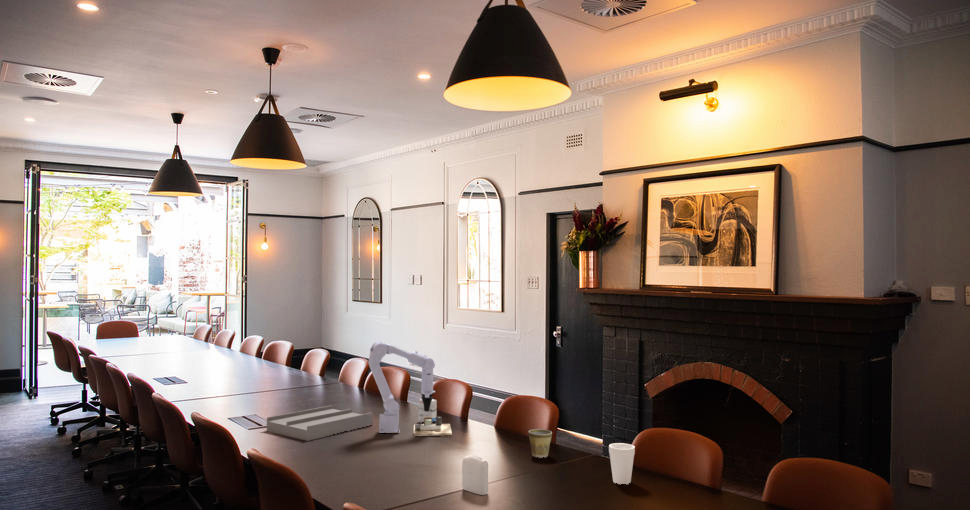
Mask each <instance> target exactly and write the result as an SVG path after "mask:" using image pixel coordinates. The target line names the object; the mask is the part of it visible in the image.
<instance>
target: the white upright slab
mask: <svg viewBox="0 0 970 510" xmlns="http://www.w3.org/2000/svg"><path fill="white" fill-rule="evenodd" d="M461 471H462V473H461V475H462V476H461V477H462V479H461V483H462V484H461V486H462V490H464V491H467V492H470V493H472V494H476V495H480V496H486V495H487V494H488V493H489V462H488V461H487V460H486V459H485V458H483V457H481V456H479V455H475V454H470V455H466V456H464V457H463V459H462V469H461Z"/></svg>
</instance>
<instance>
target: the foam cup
mask: <svg viewBox="0 0 970 510" xmlns="http://www.w3.org/2000/svg"><path fill="white" fill-rule="evenodd" d="M635 447H636V446H635V445H633V444H629V443H622V442H618V443H617V442H615V443H610V444H609V445H608V453H609V459H610V460H609V461H610V467H611V473H612V476H611V477H612V481H613V483H614V484H616V483H617V484H618V485H621V484H626V485H629V483H630V484H631V481H632V473H633V465H634V460H635V459H634V458H635V454H636V453H635V452H636V450H635ZM617 484H616V485H617Z"/></svg>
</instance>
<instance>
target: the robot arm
mask: <svg viewBox="0 0 970 510" xmlns="http://www.w3.org/2000/svg"><path fill="white" fill-rule="evenodd" d="M391 354H394V355H396V356H399V357H402V358H404V359H407V363H410V364H411V365H412V364H413V365H415V366H417V367H419V368H420V367H421V387H420V388H421V390H420V393H421V397H420V399H422V401H423V404H424V411H429V409H430V404H431V401H432V399H433V400H434V397H433V395H434V394H435V393H436V390H434V368H435V367H436V363H435V361H434V360H433V359H432V358H430V357H429V356H427V355H424V354H420V353H419V352H418V351H416V350H415V351H414V350H413V351H410V352H408V351H406V350H404V349H402V348H400V347H397V346H395V345H393V344H389V343H383V342H382V341H376V342H374V343H373V344H372V345H371V348H370V349H369V356H368V362H367V363H368V366H369V368H370V371H371V374H372V376H373V379H374V380H375V383H376V385H377V388H378V390H379V393H380V395H381V399H382V402H383V405H382V407H383V409H384V410H383V413H380V414H379V416H378V417H379V418H378V419H379V421H378V434H379V433H384V432H386V433H391V432H397V431H398V429H399V427H400V426H399V420H400V419H399V418H400V415H399V413H400V412H399V411H400V404H399V403H398V402H397V401H396V400H395V397H394V395H393V394H392V392H391V389H390V387H389V384H388V382H387V380H386V377H385V375H384V373H383V370H382V368H381V364H380V363H381V362H382V359H383V358H384V357H385V356H386V355H391Z"/></svg>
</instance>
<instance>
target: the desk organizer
mask: <svg viewBox="0 0 970 510" xmlns="http://www.w3.org/2000/svg"><path fill="white" fill-rule="evenodd" d="M371 424H372V425H373V412H367V413H363V414H362V413H356V412H353V408H348V409H343V410H340V409H335V408H333V405H332V404H331V405H326V406H320V407H315V408H314V407H313V408H309V409H305V410H299V411H293V412H287V413H283V414H279V415H272V416H267V417H266V431H267V432H270V433H274V434H277V435H281V436H286V437H290V438H295V439H298V440H303V441H307V442H309V441H313V440H318V439H322V438H326V436H327V437H329V436H330V435H331V436H334V435H333V434H335V435H338V434H337V433H339V434H341V433H340V432H344V431H348V430H352V429H356V428H360V427H364V426H367V425H371ZM356 430H357V429H356ZM352 431H353V430H352ZM348 432H349V431H348ZM344 433H345V432H344Z"/></svg>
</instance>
